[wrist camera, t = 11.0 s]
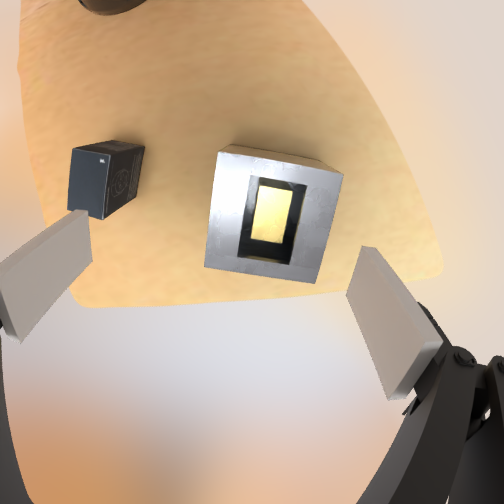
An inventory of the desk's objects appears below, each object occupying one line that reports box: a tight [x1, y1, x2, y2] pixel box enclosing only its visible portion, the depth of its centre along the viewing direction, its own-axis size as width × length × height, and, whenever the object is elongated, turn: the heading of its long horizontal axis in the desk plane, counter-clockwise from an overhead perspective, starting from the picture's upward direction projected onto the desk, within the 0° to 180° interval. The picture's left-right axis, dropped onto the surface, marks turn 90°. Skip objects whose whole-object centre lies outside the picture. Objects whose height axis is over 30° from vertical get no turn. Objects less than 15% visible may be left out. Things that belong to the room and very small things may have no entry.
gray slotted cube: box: [204, 145, 343, 284], centre depth 34 cm, size 12×12×12 cm
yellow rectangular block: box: [251, 177, 293, 243], centre depth 35 cm, size 6×4×8 cm, turn 171°
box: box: [67, 140, 145, 220], centre depth 33 cm, size 8×6×11 cm
